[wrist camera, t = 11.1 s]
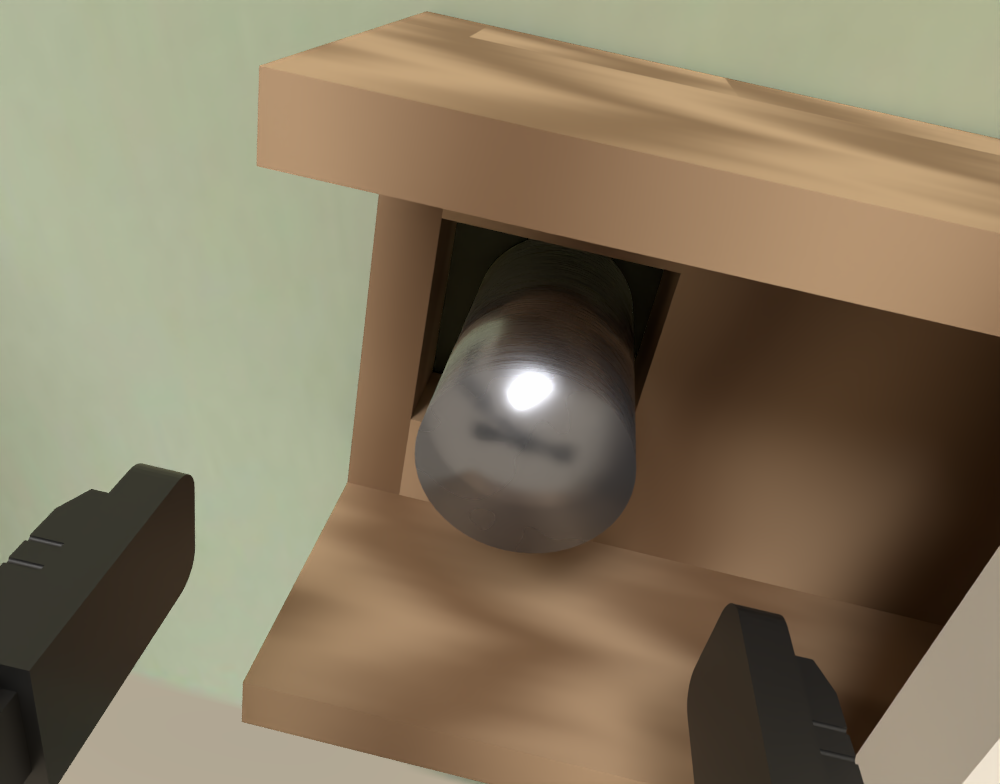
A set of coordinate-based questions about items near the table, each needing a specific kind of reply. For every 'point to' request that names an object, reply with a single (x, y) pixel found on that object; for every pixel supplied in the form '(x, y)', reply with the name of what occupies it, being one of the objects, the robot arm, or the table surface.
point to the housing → (644, 399)
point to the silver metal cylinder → (536, 404)
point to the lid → (947, 703)
